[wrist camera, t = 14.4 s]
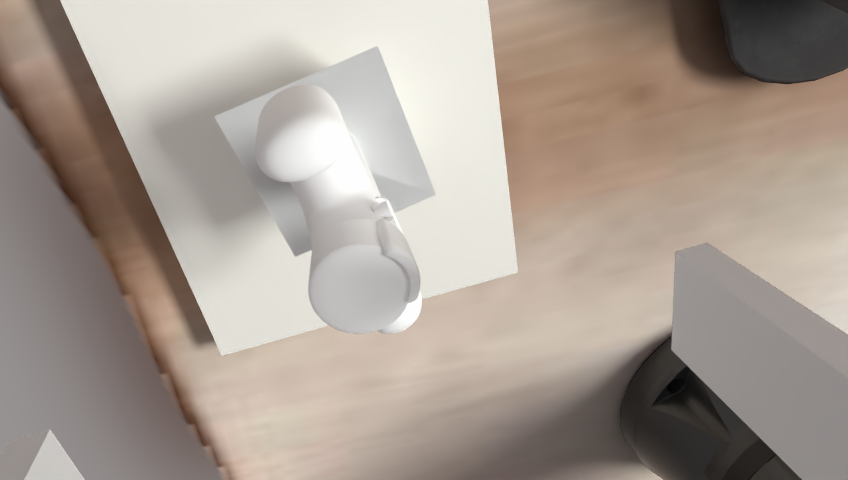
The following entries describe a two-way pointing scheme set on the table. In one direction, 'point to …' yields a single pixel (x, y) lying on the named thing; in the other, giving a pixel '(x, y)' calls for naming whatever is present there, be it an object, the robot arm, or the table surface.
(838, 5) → the casserole
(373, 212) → the figurine
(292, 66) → the board
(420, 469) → the table surface
